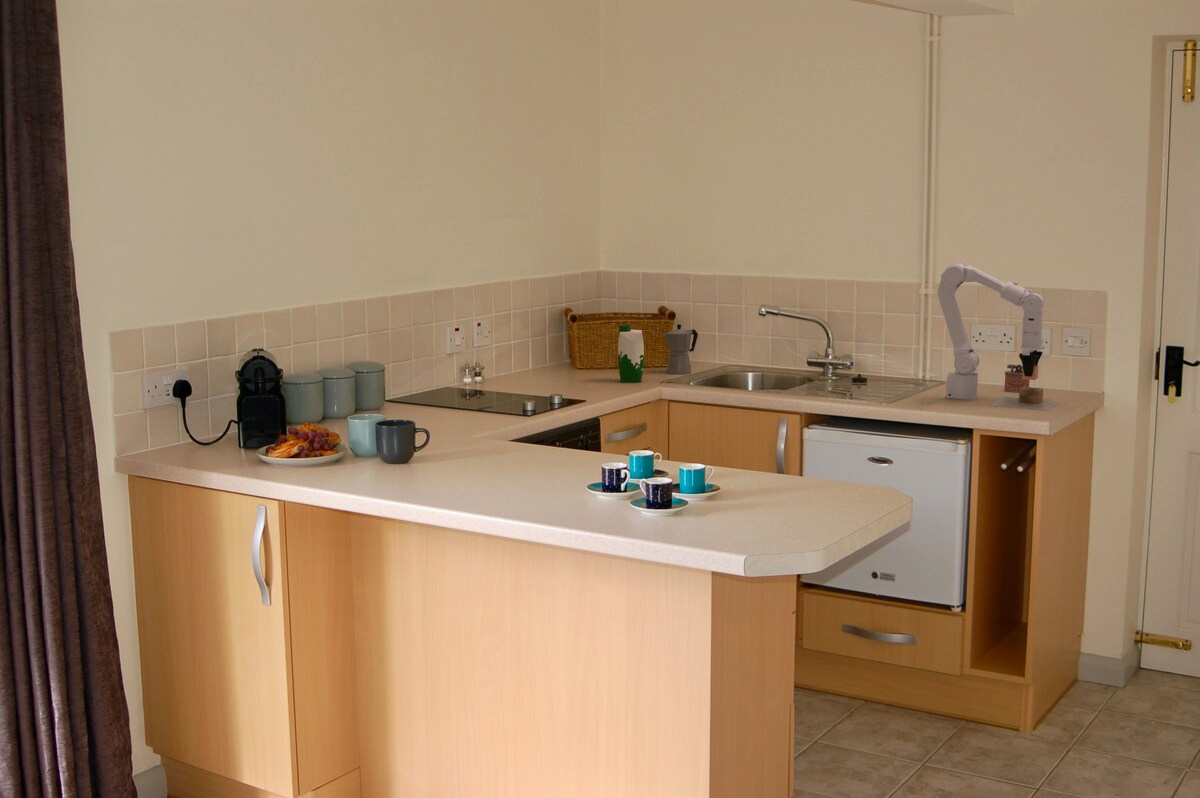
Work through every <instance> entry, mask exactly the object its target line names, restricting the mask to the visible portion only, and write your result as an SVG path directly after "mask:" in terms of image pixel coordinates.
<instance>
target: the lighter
mask: <svg viewBox="0 0 1200 798" xmlns="http://www.w3.org/2000/svg"><path fill="white" fill-rule="evenodd" d="M1006 368H1007V369H1010V370H1006V371H1004V389H1003V390H1004V392H1009V393H1019V391H1020V389H1021V388H1023V387H1030V380H1027V379H1022V372H1023V365H1022V364H1020V363H1018V364H1010V363H1009V364H1007V367H1006Z"/></svg>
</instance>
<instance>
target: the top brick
mask: <svg viewBox="0 0 1200 798" xmlns="http://www.w3.org/2000/svg"><path fill="white" fill-rule="evenodd" d="M1039 367H1040V366H1039V365H1037V366H1036V365H1034V370H1033V374H1032V377H1029V376H1025V375H1024V370H1023V369H1022V370H1023V372H1022V379H1027V380H1029V381H1036V380H1038V379H1039V371H1040V370H1039Z"/></svg>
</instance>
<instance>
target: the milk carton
mask: <svg viewBox="0 0 1200 798" xmlns="http://www.w3.org/2000/svg"><path fill="white" fill-rule="evenodd" d="M644 349H645V346H644V337H643V331H642V329H631V325H630V324H619V325H618V344H617V350H618V352H617V354H618V359H617V363H618V372H619V373H618V374H619V378H620V383H621V384H622V383H623V384H624V383H625V384H626V383H627V384H629V383H631V384H632V383H633V384H634V383H642V379H643V375H644V367H645V365H644V364H645V354H644V353H645V350H644Z"/></svg>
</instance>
